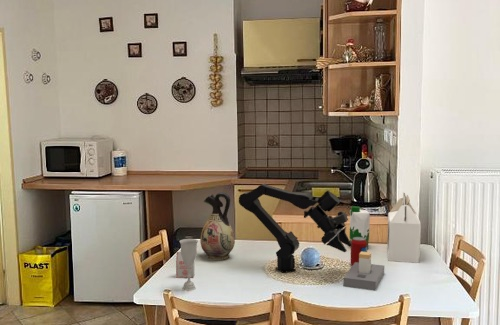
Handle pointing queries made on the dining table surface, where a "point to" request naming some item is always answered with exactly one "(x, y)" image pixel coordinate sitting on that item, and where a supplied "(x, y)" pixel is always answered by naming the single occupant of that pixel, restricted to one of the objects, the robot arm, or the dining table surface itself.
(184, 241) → the chalice
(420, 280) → the dining table surface
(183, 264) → the white red printed box
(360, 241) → the beverage can
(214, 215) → the ceramic jug
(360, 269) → the plug
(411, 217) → the gable box
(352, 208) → the milk carton
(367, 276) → the grey socket base
